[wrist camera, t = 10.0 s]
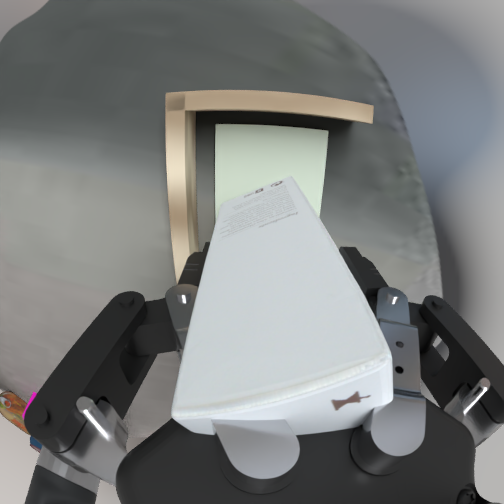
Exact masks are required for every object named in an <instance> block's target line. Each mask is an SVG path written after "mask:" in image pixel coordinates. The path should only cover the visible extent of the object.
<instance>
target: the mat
mask: <svg viewBox="0 0 504 504" xmlns="http://www.w3.org/2000/svg"><path fill="white" fill-rule="evenodd" d="M327 143H328V131H326V130H318V129H309V128H299V127H287V126H272V125H249V124H216V133H215V217H216V221H217V217H218V214H219V210H220V206H221V204H222V203H224V202H226V201H229V200H231V199H234V198H236V197H239V196H241V195H243V194H246V193H249V192H251V191H253V190H256V189H258V188H261V187H263V186H266V185H268V184H271V183H273V182H276V181H279V180H281V179H284V178H286V177H289V176H292V177H293V178H294V179H295V181H296V182H297V184H298V185H299V187H300V188H301V190H302V191H303V193H304V195H305V196H306V197H307V199H308V201H309V203H310V204H311V206H312V207H313V209H314V211H315V212H316V214H317V215H318V217H319V215H320V208H321V200H322V191H323V183H324V174H325V164H326V154H327Z"/></svg>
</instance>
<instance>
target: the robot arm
mask: <svg viewBox="0 0 504 504" xmlns="http://www.w3.org/2000/svg"><path fill="white" fill-rule="evenodd" d="M209 246H210V242H206V243H205V246H204V249H203V252H194V253H192V254H191V255H190V256H189V257H188V258H187V261H186V263H185V266H184V268H183V271H182V274H181V276H180V279H179V281H178V284H177V285H176V286H174V287H172V288H170V289H169V290H168V291H167V292H166V295H165V298H163V299H159V300H153V301H146V302H145V299H144V296H143V295H142V294H140V293H138V292H134V291H128V292H123V293H120V294H118V295H116V296H115V297H114V298H113V299H112V300H111V301H110V302H109V303H108V305H107V306H106V307H105V308H104V309H103V310H102V311H101V313H100V314H99V315H98V316H97V317H96V319H95V320H94V321H93V322H92V323H91V324H90V326H89V327H88V328H87V329H86V331H85V332H84V333H83V334H82V335H81V337H80V338H79V339H78V340H77V342H76V343H75V344H74V345H73V347H72V348H71V349H70V350H69V352H68V353H67V354H66V356H65V357H64V358H63V359H62V361H61V362H60V363H59V365H58V366H57V367H56V369H55V370H54V371H53V373H52V374H51V375H50V377H49V378H48V379H47V381H46V382H45V384H44V385H43V386H42V388H41V389H40V390H39V392H38V393H37V395H36V396H35V398H34V399H33V401H32V402H31V403H30V405H29V406H28V408H27V410H26V412H25V415H24V424H25V428H26V430H27V431H28V433H29V434H30V435H31V436H32V437H33V438H34V439H36V440H37V441H38V442H39V443H40V444H42V445H43V446H42V449H41V451H40V455H39V457H38V460H37V463H36V464H37V465H36V466H35V470H34V473H33V477H32V480H31V484H30V487H29V491H28V495H27V497H26V501H25V504H95V501H96V496H97V495H96V494H97V491H98V487H99V483H100V479H101V480H103V481H105V482H107V483H109V484H111V485H113V486H115V487H116V491H117V494H118V497H119V500H120V502H121V504H500V503H492V502H489V501H487V500H485V499H483V498H482V497H481V496H480V495H479V494H478V492H477V490H476V487H475V482H474V462H475V452H476V449H475V448H476V447H477V446H479V445H480V444H481V443H482V442H484V441H485V440H486V439H487V438H489V437H490V436H491V435H492V434H493V433H494V432H495V431H497V430H498V429H499V428H500V427H501V426H502V425H503V424H504V365H503V364H502V363H501V362H500V360H499V359H498V358H497V357H496V355H494V353H493V352H492V351H491V350H490V348H489V347H488V346H487V345H486V344H485V343H484V341H483V340H482V339H481V338H480V337H479V336H478V335H477V334H476V332H475V331H474V330H473V329H472V328H471V327H470V326H469V325H468V324H467V323H466V322H465V321H464V320H463V319H462V317H461V316H459V314H458V313H457V312H456V311H455V310H454V309H453V308H452V307H451V306H450V305H449V304H448V303H447V302H446V301H445V300H443V299H442V298H440V297H437V296H433V295H429V296H426V297H425V298H424V301H423V303H422V304H416V303H411V302H408V298H407V296H406V295H405V294H404V293H403V292H402V291H400V290H398V289H396V288H392V287H389V286H388V285H387V283H386V282H385V280H384V279H383V277H382V276H381V274H380V273H379V272H378V270H376V267H375V266H374V264H373V263H372V262H371V261H369V260H368V259H367V258H365V257H362V256H361V254H360V253H359V251H358V250H357V248H356V247H340V249H339V252H340V254H341V256H342V257H343V259H344V261H345V263H346V264H347V266H348V268H349V270H350V272H351V273H352V275H353V277H354V278H355V280H356V282H357V283H358V285H359V287H360V289H361V290H362V292H363V294H364V296H365V298H366V300H367V302H368V304H369V306H370V308H371V310H372V312H373V314H374V316H375V318H376V320H377V322H378V324H379V327H380V329H381V331H382V333H383V335H384V338H385V340H386V342H387V344H388V347H389V349H390V351H391V355H392V367H393V400H392V401H391V402H390V403H387V404H385V405H382V406H378V407H374V409H373V410H372V411H371V413H370V414H369V415H368V417H367V418H366V419H365V421H364V422H363V423H362V424H361V425H360V426H358V427H354V428H348V429H343V430H336V431H329V432H321V433H313V434H304V435H295V434H294V432H293V431H292V429H291V428H290V426H289V425H288V423H287V421H286V420H285V419H279V420H222V419H211V423H212V428H213V433H214V435H209V434H201V433H194V432H192V431H190V430H188V429H187V428H185V427H184V426H182V425H181V424H179V423H178V422H177V421H175V420H174V419H173V418H171V419H170V420H169V421H168V422H167V423H165V424H164V425H163V426H162V427H160V428H159V429H158V430H157V431H156V432H154V433H153V434H152V435H151V436H149V437H148V438H147V439H145V440H144V441H143V442H142V443H141V444H139V445H138V446H136V447H135V448H134V449H132V450H131V451H130V452H129V453H128V454H127V450H126V442H127V439H128V429H127V427H126V425H125V423H124V422H123V421H122V420H123V418H124V416H125V414H126V413H127V411H128V409H129V407H130V405H131V403H132V401H133V399H134V397H135V395H136V393H137V392H138V390H139V388H140V386H141V384H142V382H143V380H144V378H145V377H146V375H147V373H148V371H149V369H150V367H151V366H152V364H153V362H154V360H155V358H156V356H157V354H158V353H165V352H171V351H177V354H178V358H179V361H180V364H181V360H182V356H183V351H184V346H185V342H186V337H187V334H188V329H189V325H190V321H191V316H192V312H193V308H194V304H195V300H196V296H197V292H198V288H199V284H200V280H201V276H202V273H203V268H204V264H205V260H206V257H207V253H208V249H209ZM438 335H439V337H440V338H441V339H442V340H443V341H444V343H445V344H446V345H447V346H448V348H449V357H448V359H447V360H446V362H445V360H444V359H443V358H442V357H441V355H440V354H439V353H438V351H437V350H436V349H435V348H434V346H433V343H434V341H435V339H436V338H437V336H438ZM421 379H422V380H423V382H424V383H425V385H426V386H427V388H428V389H429V391H430V392H431V394H432V395H433V397H434V398H435V400H436V401H437V403H438V405H439V406H440V407H438V406H436V405H435V404H434V403H432V402H431V401H429V400H428V399H427V398H425V397H424V396H423V395H422V394H421Z"/></svg>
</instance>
